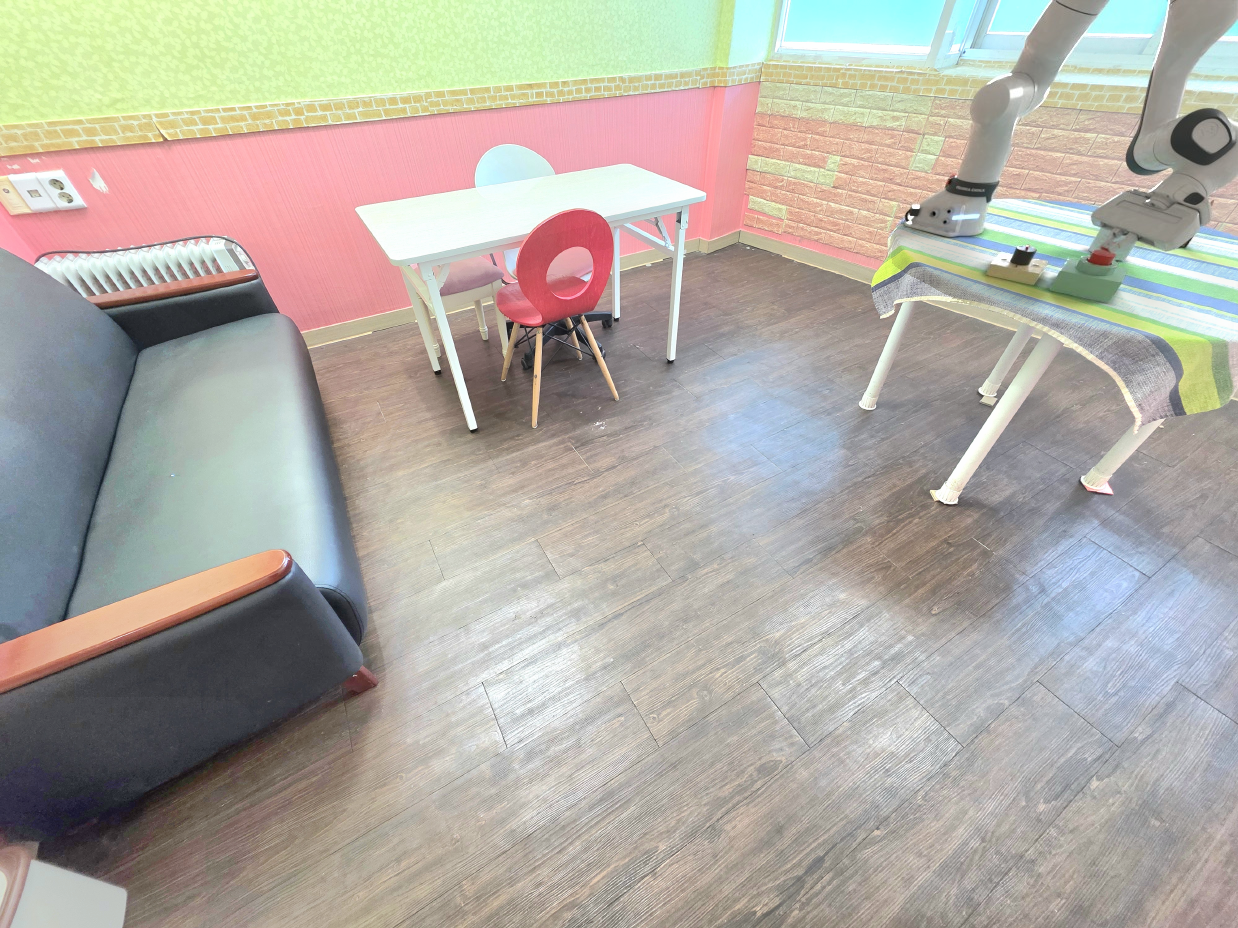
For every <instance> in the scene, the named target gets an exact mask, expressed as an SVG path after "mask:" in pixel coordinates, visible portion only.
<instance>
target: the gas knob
mask: <svg viewBox="0 0 1238 928" xmlns="http://www.w3.org/2000/svg"><path fill="white" fill-rule="evenodd" d="M1037 251H1038V249H1037V248H1036V247H1034V246H1031V245H1030V244H1026V245H1023V244H1022V245H1018V246H1017V245H1016V247H1015V250H1014V251H1013V253H1012V254H1013V256H1012V258H1011V260H1010V262H1011V263H1013V264H1016V265H1029V264H1030V262H1031V261H1032V259H1033V258H1034V257H1035V255H1036V253H1037Z"/></svg>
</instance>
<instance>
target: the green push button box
mask: <svg viewBox="0 0 1238 928" xmlns="http://www.w3.org/2000/svg"><path fill="white" fill-rule="evenodd" d="M1089 257H1090V255H1083V256H1080V258H1078V259H1077V258H1073V257H1067V259H1066V261H1065V262H1064V264H1063V265H1062V267H1061V268H1060V270H1059V272H1058V273H1057V275H1056V277H1055V279H1053V280H1054V281H1052V284H1051V286H1050V287H1049V289H1048V291H1051V292H1055V293H1060V294H1064V295H1069V296H1073V297H1079V298H1083V299H1087V300H1092V301H1096V302H1101V303H1106V304H1109V303H1110V301H1111V300H1112V299H1113V298H1114V296H1115V294H1116V293H1117V291H1118V290H1119V288H1120V287H1121V285H1122V284H1123V281H1124V280H1125V278H1126V275H1127V274H1128V273H1127V272H1128V270H1129V269H1128V268H1126V267H1121V266H1119V263H1118V262H1117V260H1113V261H1112V262H1111V264H1110V265H1108V266H1101V265H1096V264H1092V263H1090V262H1088V261H1087V260H1088V259H1089Z"/></svg>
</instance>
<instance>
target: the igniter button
mask: <svg viewBox="0 0 1238 928" xmlns="http://www.w3.org/2000/svg"><path fill="white" fill-rule="evenodd" d="M1089 256H1090V257H1089V259H1088V260H1087V261H1088V262H1090V263H1092V264H1096V265H1101V266H1108V265H1110V264H1111V262H1112V261H1113V259H1114V258H1115V256H1116V254H1115V253H1109V252H1107V251H1104V250H1094V251H1093V252H1091V253H1090V255H1089Z"/></svg>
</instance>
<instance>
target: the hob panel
mask: <svg viewBox="0 0 1238 928" xmlns="http://www.w3.org/2000/svg"><path fill="white" fill-rule="evenodd" d="M1013 254H1014V253H1009V252H1003V251H1001V252H1000V253H999V254H998V255H997V256H996V257H995V258H994V259H993V261H992V262H991V263H990V264H989V267H988V269H987V271H986V273H985V276H990V277H994V278H999V279H1002V280H1008V281H1012V282H1017V283H1021V284H1026V285H1031V286H1034V285H1035V284H1036V283H1037V281H1038V280H1039V278H1040V277H1041V276H1042V274H1043V273H1044V271H1045V269H1046V267H1047V265H1048V263H1049V260H1046V259H1040V258H1039V259H1038V258H1034V257H1033V259H1032V261H1031V262H1030V264H1029V265H1016V264H1013V263H1011V262H1010V260H1011V258H1012V256H1013Z"/></svg>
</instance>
